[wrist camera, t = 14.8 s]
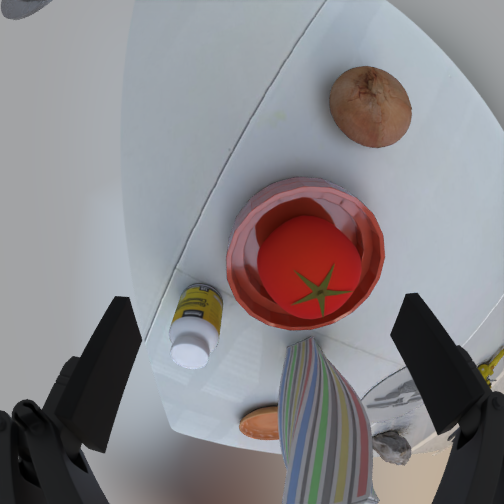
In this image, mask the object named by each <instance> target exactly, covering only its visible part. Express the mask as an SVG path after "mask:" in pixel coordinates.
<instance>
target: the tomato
mask: <svg viewBox="0 0 504 504" xmlns="http://www.w3.org/2000/svg"><path fill="white" fill-rule="evenodd" d="M257 267H258V273H259V276H260V278H261V281H262V283H263V286H264V287H265V289H266V291H267V293H268V294H269V295H270V296H271V297H272V299H273V300H274V301H275V302H276V303H277V304H278V305H279V306H280V307H281V308H282V309H283V310H285V311H286V312H288V313H290V314H292V315H294V316H296V317H298V318H303V319H317V318H321V317H324V316H327V315H329V314H331V313H333V312H335V311H336V310H337V309H339V308H340V307H341V306H342V305H343V304H344V303H345V302H346V301H347V300H348V299H349V297H350V296H351V295H352V293H353V292H354V290H355V288H356V287H357V285H358V283H359V280H360V276H361V270H362V266H361V259H360V255H359V253H358V251H357V248H356V247H355V246H354V244H353V243H352V242H351V241H350V240H349V238H348V237H347V236H346V235H345V234H344V233H342V232H341V231H340V230H339V229H338V228H337V227H335V226H334V225H333V224H331V223H330V222H328V221H326V220H325V219H322V218H318V217H315V216H306V215H302V216H299V217H295V218H292V219H290V220H288V221H287V222H285V223H283V224H282V225H281V226H279V227H278V228H277V229H275V230H274V231H273V232H272V233H271V234H270V235H269V236H268V238H267V239H266V240H265V241H264V242H263V243H262V245H261V247H260V249H259V251H258V256H257Z"/></svg>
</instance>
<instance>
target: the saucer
mask: <svg viewBox="0 0 504 504" xmlns="http://www.w3.org/2000/svg"><path fill="white" fill-rule="evenodd" d="M239 429H240V431H241V432H242V433H243V434H244V435H246V436H248V437H251V438H254V439H260V440H278V439H279V432H278V406H272V407H264V408H260V409H257V410H255V411H253V412H251V413H250V414H248V415H246V416H245V417H244V418H243V419H242V420H241V421H240V425H239Z"/></svg>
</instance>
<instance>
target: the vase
mask: <svg viewBox="0 0 504 504" xmlns="http://www.w3.org/2000/svg"><path fill="white" fill-rule="evenodd" d="M278 432H279V440H280V447H281V451H282V456H283V460H284V463H285V466H286V469H287V475H286V480H285V487H284V494H283V499H282V504H377V503H378V502H379V501H380V500H379V498H378V497H377V495H376V493H375V491H374V489H373V483H372V468H373V447H372V433H371V427H370V422H369V418H368V416H367V413H366V410H365V408H364V406H363V404H362V402H361V400H360V398H359V397H358V395H357V394H356V392H355V391H354V389H353V388H352V387H351V385H350V384H349V383H348V382H347V380H346V379H345V378H344V377H343V376H342V375H341V373H340V372H339V371H338V370H337V369H336V368H335V367H334V366H333V365H332V363H331V362H330V361H329V360H328V359H327V358H326V357H325V355H324V353H323V352H322V350H321V349H320V347H319V346H318V344H317V342H316V341H315V339H314V338H313V336H312V337H310V338H308V339H307V340H306V339H305V340H303V341H301V342H300V343H296V344H294V345H293V346H289V347H287V352H286V358H285V362H284V367H283V371H282V376H281V382H280V389H279V398H278Z"/></svg>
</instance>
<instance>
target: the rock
mask: <svg viewBox="0 0 504 504" xmlns="http://www.w3.org/2000/svg"><path fill="white" fill-rule="evenodd" d="M372 447H373V449H374V450H375V451H376V452H377V453H378V454H379V455H380V457H381V458H382V459H383V460H385V461H386V462H389V463H395V464H397V465H406V464H407V462H408V461H409V458H410V457H411V446H410V445H409V443H408V442H407V440H406V439H405V438H404V437H400V436H399V434H397V433H396V432H385V433H384V434H379V435H377V436H375V437H373V438H372Z"/></svg>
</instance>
